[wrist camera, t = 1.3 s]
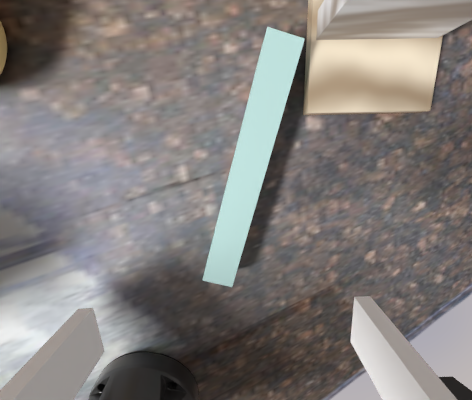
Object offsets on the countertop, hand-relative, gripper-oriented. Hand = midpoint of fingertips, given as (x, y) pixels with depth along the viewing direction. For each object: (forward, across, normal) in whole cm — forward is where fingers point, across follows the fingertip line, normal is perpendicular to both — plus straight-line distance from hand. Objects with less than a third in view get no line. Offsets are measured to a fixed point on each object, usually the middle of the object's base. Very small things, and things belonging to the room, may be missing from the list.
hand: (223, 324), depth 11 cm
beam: (+17, -2, -6) cm, 18 cm away
